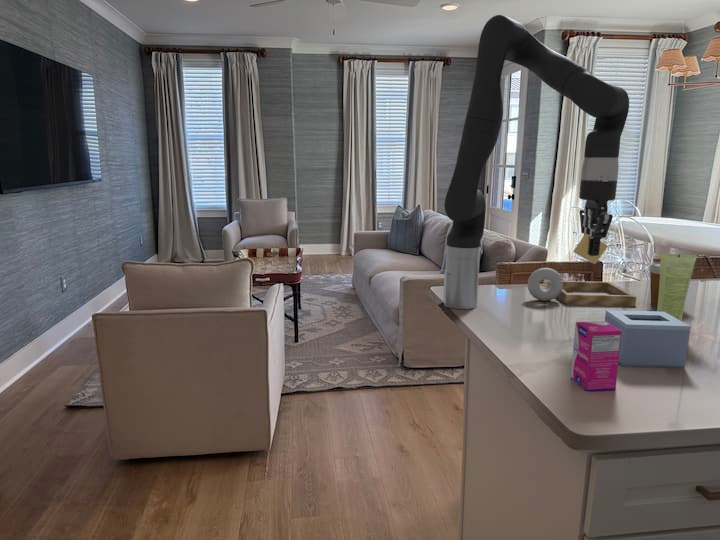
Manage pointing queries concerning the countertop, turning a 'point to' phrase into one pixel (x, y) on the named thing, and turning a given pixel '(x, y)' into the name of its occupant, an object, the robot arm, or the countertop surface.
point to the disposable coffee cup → (654, 282)
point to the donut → (551, 291)
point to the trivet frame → (617, 297)
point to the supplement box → (596, 355)
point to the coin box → (650, 338)
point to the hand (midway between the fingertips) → (591, 254)
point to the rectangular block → (583, 249)
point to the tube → (674, 282)
